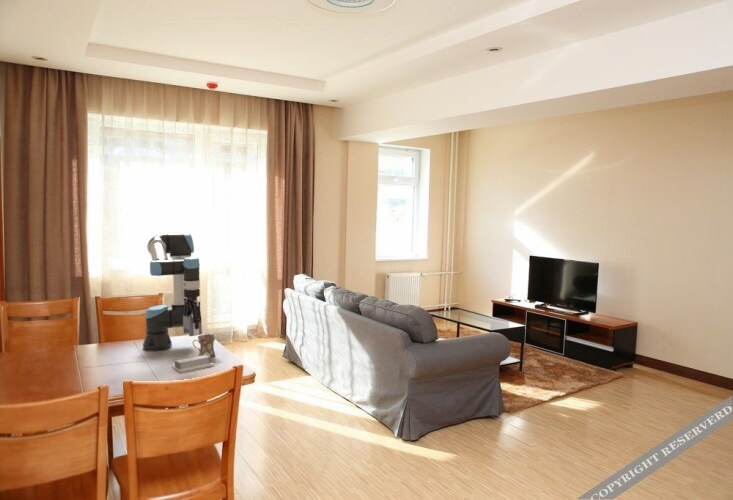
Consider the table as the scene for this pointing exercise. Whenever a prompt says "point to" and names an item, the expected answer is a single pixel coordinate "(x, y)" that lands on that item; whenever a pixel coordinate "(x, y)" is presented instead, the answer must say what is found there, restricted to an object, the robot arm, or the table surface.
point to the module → (190, 325)
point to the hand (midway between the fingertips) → (192, 333)
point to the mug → (206, 344)
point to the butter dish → (193, 363)
